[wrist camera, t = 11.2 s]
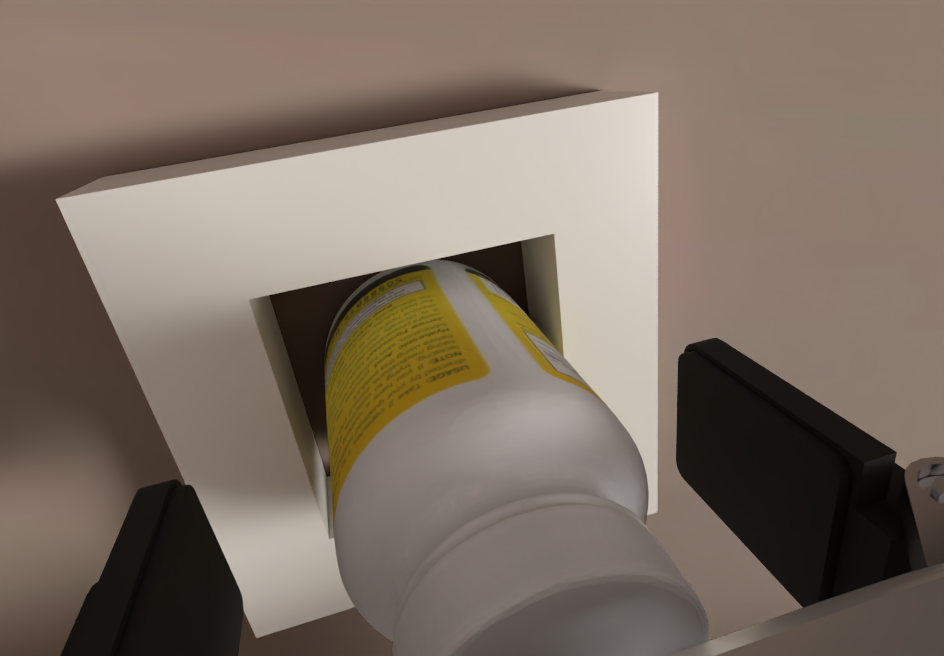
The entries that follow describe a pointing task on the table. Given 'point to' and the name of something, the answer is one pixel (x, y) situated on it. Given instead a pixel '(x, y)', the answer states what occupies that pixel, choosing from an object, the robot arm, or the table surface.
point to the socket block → (353, 254)
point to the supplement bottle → (487, 483)
